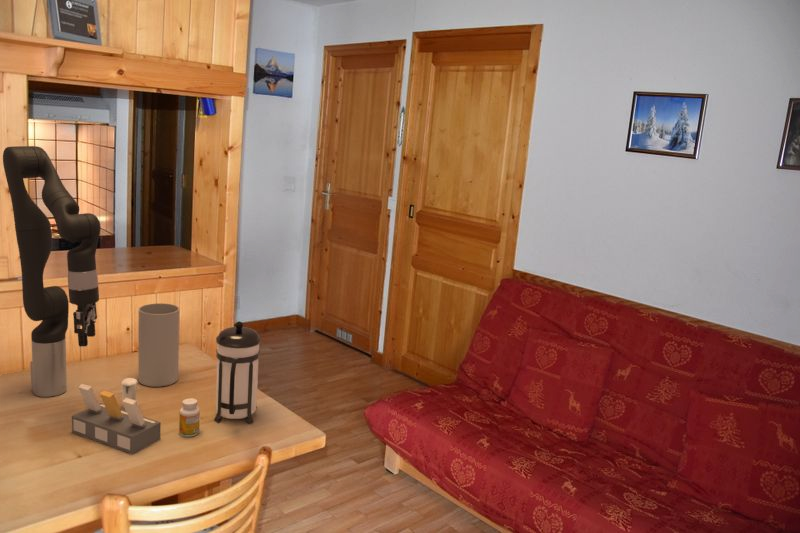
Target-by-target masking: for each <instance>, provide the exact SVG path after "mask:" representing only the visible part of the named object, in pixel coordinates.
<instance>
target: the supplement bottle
mask: <svg viewBox="0 0 800 533" xmlns="http://www.w3.org/2000/svg"><path fill="white" fill-rule="evenodd" d="M181 405H182V407H180V409H179V422H178V423H179V425H178V426H179V428H178V429H179V435H180V436H182V437H184V438H185V437H186V438H191V437H196V436H197V435H198V434H199V433H200V417H201V416H200V415H201V414H200V410H201V409H200V408H199V406H198V400H197V399H196V398H192V397H191V398H185V399H183V400H182V404H181Z"/></svg>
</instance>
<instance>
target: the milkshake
mask: <svg viewBox="0 0 800 533" xmlns="http://www.w3.org/2000/svg"><path fill="white" fill-rule="evenodd" d="M138 382H139V378H137V379H136V378H134V377H126V378H124V379H122V381H121V383H120V386H121V392H122V394H121V396H122V401H123V400H124V399H125V398H129V399H132V400H135V401H137V392H138V390H137V389H138ZM122 406H123V410H126V409H125V407H124V404H123V403H122Z"/></svg>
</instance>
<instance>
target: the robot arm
mask: <svg viewBox="0 0 800 533" xmlns="http://www.w3.org/2000/svg"><path fill="white" fill-rule="evenodd" d="M2 164H3V169H4V174H5V179H6V182H7V188H8V192H9V195H10V202H11V206H12V207H11V208H12V211H13V212H12V213H13V220H14V228H15V230H14V231H15V235H16V241H17V242H16V243H17V248H18V252H19V253H18V254H19V262H20V270H21V285H22V290H21V291H22V292H21V293H22V303H23V305H22V306H23V308H24V312H25V314H26V315H27V318H29V319H30V320H31V321H33V322H40V323H39V324H38V325H37V326H36V327H34V329H33V330H32V331H31V334H30V336H31V337H30V338H31V339H30V340H31V361H30V364H29V366H30V367H29V368H30V369H29V370H30V389H31V392H33V394H34V395H35V396H38V397H41V398H49V397H56V396H60V395H61V394H64V393H66V391H67V388H68V387H67V384H68V383H67V380H68V379H67V344H66V343H67V342H66V340H67V339H66V338H67V337H66V336H67V330H68V328H69V306H70V305H69V303H70V304H72V305H76V307H77V308H76V309H75V311H74V312H73V314H72V315H73V330H74V331H73V332H74V334H77V342H78V344H77V345H78V347H80V348H81V347H82V348H83V347H87V346H88V344H89V343H88V341H89V340H88V337H91V338H92V337H93V338H94V337H95V336H96V323H97V321H96V320H97V318H98V315H97V314H98V312H97V303H98V302H99V300H100V292H99V277H98V272H97V262H96V261H97V260H96V252H97V248H98V242H99V238H100V235H101V228H102V227H101V222H100V220H99V218H98V217H97V216H96V215H95V214H94V213H90V212H88V213H80V205H79V204H78V202H77V201H76V199H74V197H73V196H72V195H71V193H70V192H69V190H67V189H66V187H65V185H64V184H63V182H62V180H61V178H60V176H59V174H58V171H57V169H56V168H55V166H54V163H53V162H52V160H51V158H50V156H49V154H48V153H47V151H45V150H44V148H42V147H41V146H35V145H30V146H29V145H25V146H24V145H23V146H22V145H21V146H19V145H18V146H7V147H5V149H3V153H2ZM36 178H41V179H42V180H43V182H44V184H43V186H42V189H41V199H42V202H43V204H44V206H45V207H46V208H47V210H48V211H49V213H50V214H51V215H52V217H53V219H54V222H55V224H56V230H57V234H58V235H59V237H61V238H62V239H63V240H65V241H67V242H68V241H69V242H73V241H81V243H80V244H79V245H78V246H76V247H74V248H72V249H69V250H68V251H67V252H66V253H67V254H66V257H67V258H66V263H67V286H68V295H67V293H66V291H65V290H64V289H63V288H62V287H60V286H58V285H52V286H48V287H47V286H46V287H45V286H44V271H45V267H46V264H47V263H48V260H49V258H50V255H51V252H52V249H53V244H54V242H53V234H52V226H51V222H50V220H49V218H48V217H47V215H46V213H45V212H43V210H42V209H41V208H40V207H39V206H38V205H37V203H35V201H33V199H32V197H31V196H30V194H29V193H28V190H27V188H26V184H25V180H24V179H36Z"/></svg>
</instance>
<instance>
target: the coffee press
mask: <svg viewBox="0 0 800 533" xmlns="http://www.w3.org/2000/svg"><path fill="white" fill-rule="evenodd" d="M215 338H216V339H215V342H216V343H217V349H216V355H215V356H216V381H215V382H216V383H215V384H216V386H215V410H216V415H215V417H214V419H213V421H214V422H215V423H217V424H220V423H221V422H222V420H223V419H225V418H226V419H232V420H235V419H236V420H238V419H239V420H240V419H244V420H245V422H246V423H247V424H248V425H250V424H253V423H254V418H253V414H255V412H256V409H257V408H258V406H257V403H258V402H257V401H258V380H259V379H258V377H259V358H260V344H261V342H262V340H261V337H260V335H259V333H258V332H257V330H255V329H253V328H250V327H248V326H247V327H246V326H244V324H243V322H242V321H236V323H235V324H234V326H231V327H226V328H224V329H222V330H221V331H219V334H218V335H217V336H216V337H215Z"/></svg>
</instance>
